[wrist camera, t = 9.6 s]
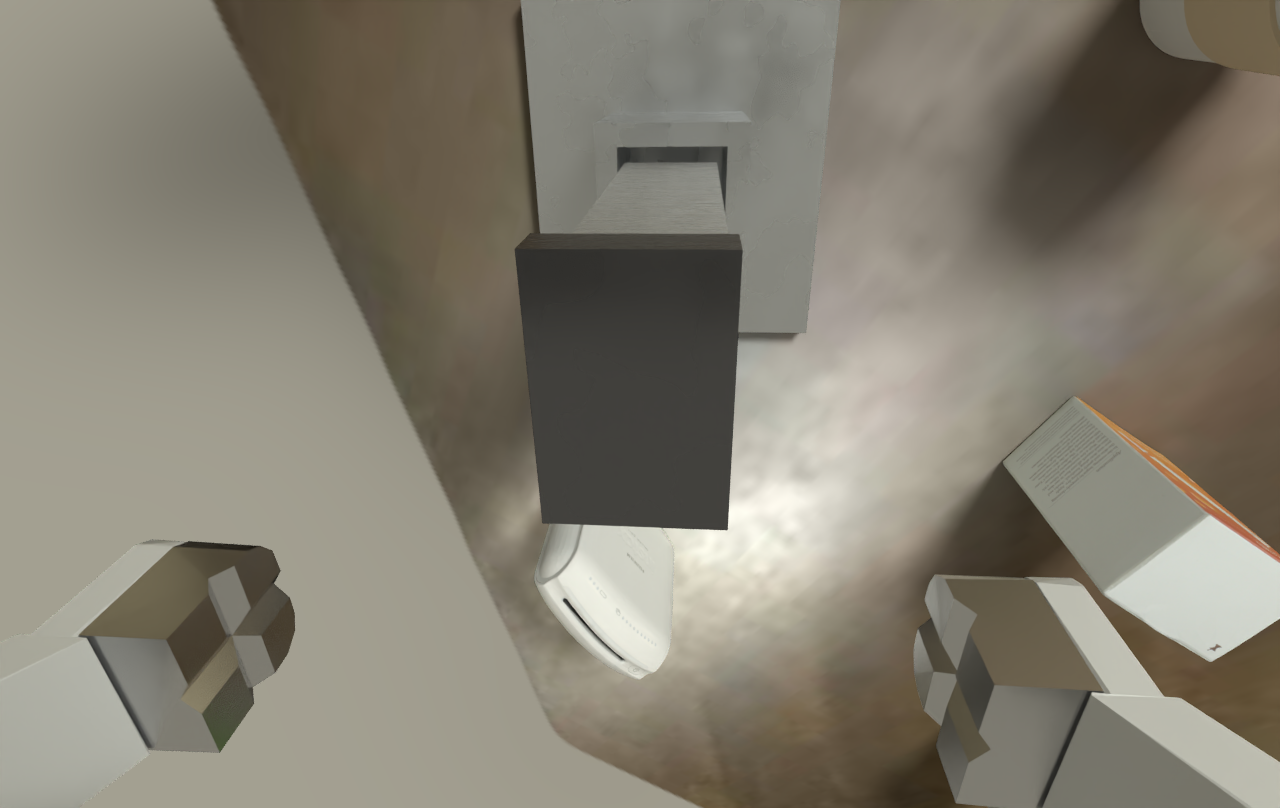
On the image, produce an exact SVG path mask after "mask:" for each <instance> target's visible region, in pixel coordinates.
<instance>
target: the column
mask: <svg viewBox="0 0 1280 808" xmlns="http://www.w3.org/2000/svg"><path fill="white" fill-rule="evenodd" d="M742 254H743V249H742V244H741V240H740V235H739V234H728V229H727V223H726V216H725V210H724V204H723V198H722V191H721V185H720V179H719V173H718V166H717V162H662V163H624V165H623V166H622V167H621V169H620V170H619V171H618V173H617V174H616V176H615V177H614V178H613V180H612V181H611V182H610V184H609V185H608V186H607V188H606V189H605V190H604V192H603V193H602V194H601V196H600V197H599V198H598V200H597V201H596V202H595V204H594V205H593V206H592V208H591V209H590V210H589V212H588V213H587V214H586V216H585V217H584V218H583V220H582V221H581V222H580V224H579V225H578V226H577V228H576V229H575V230H574V232H573V233H572V234H563V233H530V234H529V235H528V236H527V237H526V238H525V239H524V240H523V241H522V242H521V243H520V244H519V245H518V246H517V247H516V248H515V256H516V266H517V275H518V285H519V295H520V305H521V315H522V325H523V335H524V345H525V355H526V365H527V374H528V384H529V394H530V404H531V414H532V424H533V434H534V444H535V454H536V464H537V473H538V483H539V493H540V503H541V513H542V523H548V524H575V525H602V526H628V527H655V528H682V529H709V530H728V512H729V494H730V475H731V457H732V438H733V420H734V402H735V383H736V365H737V346H738V328H739V309H740V291H741V273H742Z"/></svg>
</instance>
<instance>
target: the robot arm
mask: <svg viewBox="0 0 1280 808" xmlns="http://www.w3.org/2000/svg"><path fill="white" fill-rule="evenodd" d="M279 573H280V568H279V566H278V563H277V561H276V558H275V556H274V553H273V551H272V550H269V549H267V548H264V547H261V546H251V545H237V544H221V543H207V542H192V541H188V542H180V541H165V540H149V541H146V542H143V543H139V544H136V545H135V546H134V547H133V548H131V549H130V550H129V551H128V552H127V553H125V554H124V555H123V556H122V557H121V558H120V559H118V560H117V561H116V562H115V563H114V564H113V565H111V566H110V567H109V568H108V569H107V570H106V571H104V572H103V573H102V574H101V575H100V576H99V577H97V579H95V580H94V581H93V582H91V583H90V584H89V585H88V586H87V587H86V588H84V589H83V590H82V591H81V592H80V593H79V594H77V595H76V596H75V597H74V598H73V599H72V600H70V601H69V602H68V603H67V604H66V605H65V606H64V607H62V608H61V609H60V610H59V611H58V612H57V613H55V614H54V615H53V616H52V617H51V618H49V619H48V620H47V621H46V622H45V623H44V624H42V625H41V626H40V627H39V628H38V629H37V630H36V631H34V632H33V633H32V634H31V635H27V634H17V635H15V636H13V637H10V638H8V639H6V640H4V641H2V642H0V808H79V807H81V806H82V805H83V804H84V803H86V802H87V801H89V800H90V799H91V798H93V797H94V796H95V795H97V794H98V793H99V792H100V791H102V790H103V789H104V788H106V787H107V786H108V785H110V784H111V783H112V782H114V781H115V780H116V779H118V778H119V777H120V776H122V775H123V774H124V773H126V772H127V771H128V770H130V769H131V768H132V767H134V766H135V765H136V764H138V763H139V762H140V761H141V760H143V759H144V758H145V757H147V756H148V755H149V754H150V752H149V750H162V751H189V752H217V753H218V752H219V753H220V752H221V750H222V749H223V747H224V746H225V744H226V742H227V741H228V740H229V739H230V737H231V735H232V734H233V733H234V731H235V730H236V728H237V727H238V726H239V724H240V723H241V721H242V720H243V718H244V717H245V716H246V714H247V713H248V711H249V710H250V708H251V707H252V706H253V704H254V698H253V687H254V686H255V685H257V684H259V683H260V682H261V681H263V680H265V679H266V678H268V677H269V676H271V675H272V674H274V673H275V672H276V670H277V669H278V668H279V666H280V665H281V663H282V662H283V660H284V659H285V657H286V656H287V654H288V651H289V648H290V645H291V641H292V638H293V635H294V631H295V615H294V614H295V613H294V609H293V606H292V603H291V600H290V598H289V597H288V596H287V595H286V594H285V593H284V592H283V591H282V590H280V589H279V588H278V587H277V586H276V585H275V584H274V582H275V580H276V579H277V577H278V575H279ZM925 602H926V605H927V607H928V610H929V612H930V615H931V618H930V619H929V620H928V621H926V622H925V623H924V624H923V625H921V626H920V627H919V628H918V630H917V635H916V641H915V646H914V674H915V679H916V685H917V690H918V693H919V697H920V700H921V703H922V706H923V709H924V711H925V712H926V713H927V714H928V715H929V716H931V717H932V718H933V719H934V720H935V721H936V722H937V723H938V724H939V725H940V726H941V729H940V733H939V736H938V740H937V744H936V747H937V750H938V753H939V756H940V759H941V762H942V765H943V768H944V770H945V773H946V776H947V779H948V782H949V785H950V788H951V791H952V794H953V796H954V799H955V802H956V803H959V804H969V805H979V806H990V807H1000V808H1280V762H1278V761H1277V760H1275V759H1274V758H1272V757H1271V756H1269V755H1268V754H1266V753H1265V752H1263V751H1261V750H1260V749H1258V748H1257V747H1255V746H1254V745H1252V744H1251V743H1249V742H1248V741H1246V740H1244V739H1243V738H1241V737H1240V736H1238V735H1237V734H1235V733H1234V732H1232V731H1230V730H1229V729H1227V728H1226V727H1224V726H1223V725H1221V724H1220V723H1218V722H1217V721H1215V720H1213V719H1212V718H1210V717H1209V716H1207V715H1206V714H1204V713H1203V712H1201V711H1200V710H1198V709H1196V708H1195V707H1193V706H1192V705H1190V704H1189V703H1187V702H1186V701H1184V700H1182V699H1181V698H1173V697H1164V696H1163V694H1162V693H1161V692H1160V690H1159V689H1158V688H1157V686H1156V685H1155V684H1154V682H1153V681H1152V679H1151V678H1150V677H1149V675H1148V674H1147V673H1146V671H1145V670H1144V668H1143V667H1142V666H1141V664H1140V663H1139V662H1138V660H1137V659H1136V657H1135V656H1134V655H1133V653H1132V652H1131V651H1130V649H1129V648H1128V646H1127V645H1126V644H1125V642H1124V641H1123V640H1122V638H1121V637H1120V636H1119V634H1118V633H1117V631H1116V630H1115V629H1114V627H1113V626H1112V625H1111V623H1110V622H1109V620H1108V619H1107V618H1106V616H1105V615H1104V614H1103V612H1102V611H1101V609H1100V608H1099V607H1098V605H1097V604H1096V603H1095V601H1094V600H1093V598H1092V597H1091V596H1090V594H1089V593H1088V592H1087V590H1086V589H1085V588H1084V586H1083V585H1082V584H1080V583H1079V582H1077V581H1076V580H1074V579H1073V578H1047V577H1025V578H1016V577H988V576H960V575H934V577H933V578H932V580H931V581H930V583H929V585H928V589H927V593H926V597H925Z"/></svg>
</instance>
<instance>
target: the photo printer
mask: <svg viewBox="0 0 1280 808" xmlns="http://www.w3.org/2000/svg"><path fill="white" fill-rule="evenodd" d="M673 581H674V548H673V545H672V543H671V541H670V540H669V538H668V537H667V535H666V534H665V533H664V531H663V530H662V529H661V528H655V527H628V526H602V525H575V524H549V528H548V531H547V534H546V537H545V541H544V544H543V547H542V550H541V553H540V557H539V560H538V563H537V566H536V570H535V573H534V582H535V584H536V587H537V589H538V591H539V593H540V594H541V596H542V598H543V600H544V601H545V603H546V604H547V606H548V607H549V609H550V610H551V611H552V613H553V614H554V615H555V617H556V618H557V619H558V620H559V622H560V623H561V624H562V625H563V626H564V628H565V629H566V630H567V631H568V633H569V634H570V635H572V636H573V637H574V638H575V639H576V641H577V642H578V643H580V644H581V645H582V646H583V647H584V648H585V649H586V650H587V651H588V652H589V653H591V654H592V655H593V656H594V657H595V658H597V659H598V660H599V661H601V662H602V663H603V664H605V665H606V666H608V667H609V668H611V669H613V670H614V671H616V672H618V673H620V674H623V675H625V676H628V677H630V678H633V679H637V680H639V679H641V678H642V677H644V676H645V675H647V674H650V673H654V672H655V671H656V670H657V669H658V668H659V667H660V665H661V664H662V663H663V661H664V659H665V657H666V656H667V653H668V651H669V647H670V644H671V628H672V605H673Z"/></svg>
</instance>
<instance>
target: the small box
mask: <svg viewBox="0 0 1280 808" xmlns="http://www.w3.org/2000/svg"><path fill="white" fill-rule="evenodd" d="M1003 465H1004V466H1005V467H1006V469H1007V470H1008V471H1009V472H1010V474H1011V475H1012V476H1013V478H1014V479H1015V480H1016V481H1017V483H1018V484H1019V485H1020V487H1021V488H1022V489H1023V490H1024V492H1025V493H1026V494H1027V496H1028V497H1029V498H1030V500H1031V501H1032V502H1033V504H1034V505H1035V506H1036V508H1037V509H1038V510H1039V512H1040V513H1041V514H1042V516H1043V517H1044V518H1045V520H1046V521H1047V522H1048V524H1049V525H1050V526H1051V527H1052V529H1053V530H1054V531H1055V533H1056V534H1057V535H1058V536H1059V538H1060V539H1061V540H1062V542H1063V543H1064V544H1065V546H1066V547H1067V548H1068V550H1069V551H1070V552H1071V553H1072V555H1073V556H1074V557H1075V559H1076V560H1077V561H1078V563H1079V564H1080V565H1081V567H1082V568H1083V569H1084V571H1085V572H1086V573H1087V575H1088V576H1089V577H1090V578H1091V580H1092V581H1093V582H1094V584H1095V585H1096V586H1097V587H1098V589H1099V590H1100V591H1101V593H1102V594H1103V595H1104V596H1105V597H1107V598H1108V599H1110V600H1111V601H1113V602H1114V603H1116V604H1117V605H1119V606H1120V607H1122V608H1123V609H1125V610H1126V611H1128V612H1130V613H1131V614H1133V615H1134V616H1136V617H1137V618H1139V619H1141V620H1142V621H1143V622H1145V623H1146V624H1148V625H1149V626H1151V627H1152V628H1153V629H1155V630H1156V631H1158V632H1160V633H1161V634H1163V635H1165V636H1166V637H1168V638H1170V639H1172V640H1174V641H1176V642H1178V643H1179V644H1181V645H1183V646H1184V647H1186V648H1188V649H1189V650H1191V651H1193V652H1194V653H1196V654H1198V655H1199V656H1201V657H1203V658H1204V659H1206V660H1207V661H1210V662H1211V661H1213V660H1215V659H1217V658H1219V657H1220V656H1222V655H1224V654H1225V653H1227V652H1229V651H1230V650H1232V649H1234V648H1235V647H1237V646H1238V645H1240V644H1241V643H1243V642H1245V641H1246V640H1248V639H1249V638H1251V637H1252V636H1254V635H1255V634H1257V633H1258V632H1260V631H1261V630H1263V629H1265V628H1266V627H1268V626H1269V625H1271V624H1272V623H1274V622H1275V621H1277V620H1278V619H1280V555H1279V554H1278V553H1277V552H1276V551H1275V550H1273V549H1272V548H1271V547H1270V546H1269V545H1268V544H1266V543H1265V542H1264V541H1263V540H1262V539H1261V538H1259V537H1258V536H1257V535H1256V534H1255V533H1254V532H1252V531H1251V530H1250V529H1249V528H1248V527H1246V526H1245V525H1244V524H1243V523H1242V522H1241V521H1239V520H1238V519H1237V518H1236V517H1235V516H1234V515H1232V514H1231V513H1230V512H1229V511H1228V510H1226V509H1225V508H1224V507H1223V506H1222V505H1220V504H1219V503H1218V502H1217V501H1216V500H1214V499H1213V498H1212V497H1211V496H1210V495H1208V494H1207V493H1206V492H1205V491H1204V490H1203V489H1202V488H1200V487H1199V486H1198V485H1197V484H1196V483H1195V482H1194V481H1192V480H1191V479H1190V478H1189V477H1188V476H1187V475H1186V474H1184V473H1183V472H1182V471H1181V470H1180V469H1179V468H1177V467H1176V466H1175V465H1174V464H1173V463H1171V462H1170V461H1169V460H1168V459H1167V458H1165V457H1164V456H1163V455H1162V454H1160V453H1158V452H1157V451H1155V450H1153V449H1152V448H1150V447H1149V446H1147V445H1145V444H1144V443H1142V442H1141V441H1139V440H1138V439H1136V438H1135V437H1133V436H1132V435H1130V434H1129V433H1128V432H1126V431H1125V430H1123V429H1121V428H1120V427H1119V426H1117V425H1116V424H1114V423H1113V422H1111V421H1110V420H1109V419H1107V418H1106V417H1104V416H1103V415H1101V414H1100V413H1099V412H1097V411H1096V410H1094V409H1093V408H1092V407H1090V406H1089V405H1087V404H1086V403H1085V402H1083V401H1082V400H1081V399H1079V398H1078V397H1076V396H1074V397H1071V398H1070V399H1069V400H1068V401H1067V402H1066V403H1065V404H1064V405H1063V406H1062V407H1061V408H1059V409H1058V410H1057V411H1056V412H1055V413H1054V414H1053V415H1052V416H1051V417H1050V418H1049V419H1048V420H1047V421H1046V422H1045V423H1043V424H1042V425H1041V426H1040V427H1039V428H1038V429H1037V430H1036V431H1035V432H1034V433H1033V434H1032V435H1030V436H1029V437H1028V438H1027V439H1026V440H1025V441H1024V442H1023V443H1022V444H1021V445H1020V446H1019V447H1017V448H1016V449H1015V450H1014V451H1013V452H1012V453H1011V454H1010V455H1009V456H1008V457H1007V458H1006V459H1005V460H1004V461H1003Z"/></svg>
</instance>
